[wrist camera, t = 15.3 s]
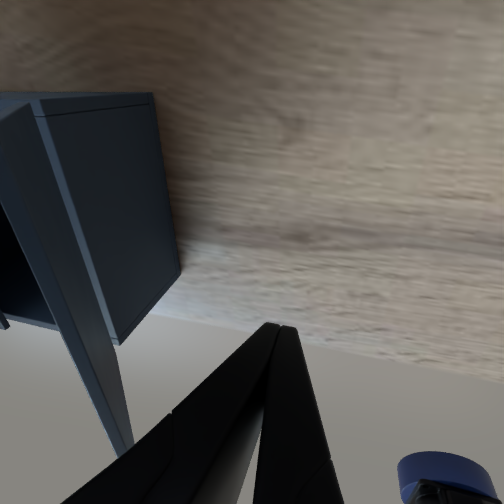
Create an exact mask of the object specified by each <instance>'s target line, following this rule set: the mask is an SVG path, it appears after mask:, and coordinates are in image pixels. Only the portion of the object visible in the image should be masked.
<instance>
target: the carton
mask: <svg viewBox="0 0 504 504" xmlns="http://www.w3.org/2000/svg"><path fill="white" fill-rule="evenodd" d="M18 102H30V105H31V107H32V110H33V113H34V116H35V119H36V122H37V125H38V128H39V131H40V134H41V137H42V140H43V142H44V145H45V148H46V151H47V154H48V157H49V160H50V163H51V166H52V169H53V172H54V175H55V177H56V180H57V183H58V186H59V189H60V192H61V195H62V198H63V201H64V204H65V207H66V210H67V212H68V215H69V218H70V221H71V224H72V227H73V230H74V233H75V236H76V239H77V242H78V245H79V247H80V250H81V253H82V256H83V259H84V262H85V265H86V268H87V271H88V274H89V277H90V279H91V282H92V285H93V288H94V291H95V294H96V297H97V300H98V303H99V306H100V309H101V312H102V314H103V317H104V320H105V323H106V326H107V329H108V332H109V335H110V338H111V341H112V344H115V345H119V346H120V345H121V344H122V343H123V342H124V341H125V339H126V338H127V337H128V336H129V335H130V334H131V332H132V331H133V330H134V329H135V328H136V327H137V325H138V324H139V323H140V322H141V321H142V320H143V318H144V317H145V316H146V315H147V314H148V313H149V311H150V310H151V309H152V308H153V307H154V306H155V304H156V303H157V302H158V301H159V300H160V299H161V297H162V296H163V295H164V294H165V293H166V292H167V290H168V289H169V288H170V287H171V286H172V285H173V283H174V282H175V281H176V280H177V279H178V278H179V276H180V275H181V273H180V267H179V260H178V254H177V247H176V241H175V234H174V228H173V221H172V215H171V208H170V202H169V195H168V189H167V182H166V176H165V169H164V163H163V156H162V150H161V143H160V137H159V130H158V124H157V117H156V111H155V104H154V98H153V93H152V92H0V111H1V110H3V109H5V108H8V107H10V106H12V105H14V104H16V103H18ZM6 319H9V320H14V321H18V322H22V323H26V324H31V325H35V326H39V327H43V328H47V329H51V330H56V331H59V329H58V327H57V325H56V323H55V321H54V318H53V316H52V314H51V312H50V310H49V308H48V305H47V303H46V301H45V299H44V297H43V294H42V292H41V290H40V288H39V286H38V283H37V281H36V279H35V277H34V275H33V272H32V270H31V268H30V266H29V264H28V262H27V259H26V257H25V255H24V253H23V251H22V248H21V246H20V244H19V242H18V240H17V237H16V235H15V233H14V231H13V229H12V226H11V224H10V222H9V220H8V218H7V216H6V213H5V211H4V209H3V207H2V205H1V202H0V329H4V330H6V329H8V328H9V327H10V325H9V323H8V321H7V320H6Z"/></svg>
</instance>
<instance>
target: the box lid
mask: <svg viewBox="0 0 504 504" xmlns="http://www.w3.org/2000/svg"><path fill="white" fill-rule="evenodd" d="M0 202H1V205H2V207H3V209H4V211H5V213H6V216H7V218H8V220H9V222H10V224H11V226H12V229H13V231H14V233H15V235H16V237H17V240H18V242H19V244H20V246H21V248H22V251H23V253H24V255H25V257H26V259H27V262H28V264H29V266H30V268H31V270H32V272H33V275H34V277H35V279H36V281H37V283H38V286H39V288H40V290H41V292H42V294H43V297H44V299H45V301H46V303H47V305H48V308H49V310H50V312H51V314H52V316H53V318H54V321H55V323H56V325H57V327H58V329H59V332H60V334H61V336H62V338H63V340H64V342H65V345H66V347H67V349H68V351H69V353H70V356H71V358H72V360H73V362H74V364H75V367H76V369H77V371H78V373H79V375H80V378H81V380H82V382H83V384H84V386H85V388H86V391H87V393H88V395H89V397H90V399H91V402H92V404H93V406H94V408H95V410H96V413H97V415H98V417H99V419H100V421H101V424H102V426H103V428H104V430H105V432H106V434H107V437H108V439H109V441H110V443H111V445H112V448H113V450H114V452H115V454H116V456H117V459H118V458H119V457H120V456H121V455H123V454H124V453H125V452H126V451H127V450H129V449H130V448H131V447H132V446H134V445H135V444H134V439H133V434H132V429H131V424H130V420H129V415H128V410H127V405H126V400H125V395H124V390H123V386H122V381H121V376H120V371H119V366H118V361H117V356H116V352H115V349H114V347H113V344H112V341H111V338H110V335H109V332H108V329H107V326H106V323H105V320H104V317H103V314H102V312H101V309H100V306H99V303H98V300H97V297H96V294H95V291H94V288H93V285H92V282H91V279H90V277H89V274H88V271H87V268H86V265H85V262H84V259H83V256H82V253H81V250H80V247H79V245H78V242H77V239H76V236H75V233H74V230H73V227H72V224H71V221H70V218H69V215H68V212H67V210H66V207H65V204H64V201H63V198H62V195H61V192H60V189H59V186H58V183H57V180H56V177H55V175H54V172H53V169H52V166H51V163H50V160H49V157H48V154H47V151H46V148H45V145H44V142H43V140H42V137H41V134H40V131H39V128H38V125H37V122H36V119H35V116H34V113H33V110H32V107H31V105H30V102H18V103H16V104H14V105H12V106H10V107H8V108H5V109H3V110H1V111H0Z"/></svg>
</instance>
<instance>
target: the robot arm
mask: <svg viewBox="0 0 504 504" xmlns="http://www.w3.org/2000/svg"><path fill="white" fill-rule="evenodd" d="M261 428H262V430H261ZM260 431H261V437H260V446H259V454H258V462H257V471H256V480H255V488H254V497H253V504H344V501H343V497H342V494H341V491H340V487H339V484H338V480H337V477H336V473H335V469H334V466H333V462H332V460H331V459H330V458H331V455H330V451H329V447H328V444H327V440H326V436H325V432H324V429H323V425H322V421H321V418H320V414H319V410H318V406H317V402H316V399H315V395H314V391H313V387H312V384H311V380H310V376H309V372H308V369H307V365H306V361H305V357H304V354H303V350H302V347H301V342H300V339H299V335H298V331H297V329H296V328H295V327H290V326H285V325H283V326H280V325H279V324H274V323H269V322H266V323H264V324H263V325H262V326H261V327H260V328H259V329H258V330H257V331H256V332H255V333H254V334H253V335H252V336H250V338H248V339H247V340H246V341H245V342H244V343H243V344H242V345H241V346H240V347H239V348H238V349H237V350H236V351H235V352H234V353H232V354H231V355H230V356H229V357H228V358H227V359H226V360H225V361H224V362H223V363H222V364H221V365H220V366H219V367H218V368H217V369H215V370H214V371H213V372H212V373H211V374H210V375H209V376H208V377H207V378H206V379H205V380H204V381H203V382H202V383H201V384H200V385H199V386H197V387H196V388H195V389H194V390H193V391H192V392H191V393H190V394H189V395H188V396H187V397H186V398H185V399H184V400H183V401H182V402H180V403H179V404H178V405H177V406H176V407H175V408H174V409H173V410H172V414H171V413H169V414H167V416H165V417H164V418H163V419H162V420H161V421H160V422H159V423H158V424H157V425H156V426H155V427H154V428H153V429H151V431H149V432H148V433H147V434H146V435H145V436H144V437H143V438H142V439H140V440H139V441H138V442H137V443H136V444H135V445H134V446H132V447H131V448H130V449H129V450H127V451H126V452H125V453H124V454H123V455H121V456H120V457H119V458H118V459H116V460H115V461H114V462H113V463H112V464H110V465H109V466H108V467H107V468H105V469H104V470H103V471H101V472H100V473H99V474H98V475H96V476H95V477H94V478H92V479H91V480H90V481H89V482H87V483H86V484H85V485H84V486H82V487H81V488H80V489H78V490H77V491H76V492H75V493H73V494H72V495H71V496H70V497H68V498H67V499H66V500H64V501H63V502H62V503H60V504H236V503H237V500H238V497H239V494H240V491H241V488H242V485H243V482H244V479H245V476H246V473H247V470H248V467H249V464H250V461H251V458H252V455H253V452H254V449H255V446H256V443H257V440H258V437H259V434H260ZM405 504H502V502H501V501H500V500H499V499H496V498H492V497H488V496H485V495H481V494H478V493H474V492H471V491H467V490H464V489H460V488H457V487H453V486H449V485H446V484H442V483H439V482H435V481H432V480H428V479H419V481H418V482H417V484H416V486H415V487H414V489H413V491H412V493H411V494H410V496H409V498H408V500H407V501H406V503H405Z"/></svg>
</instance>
